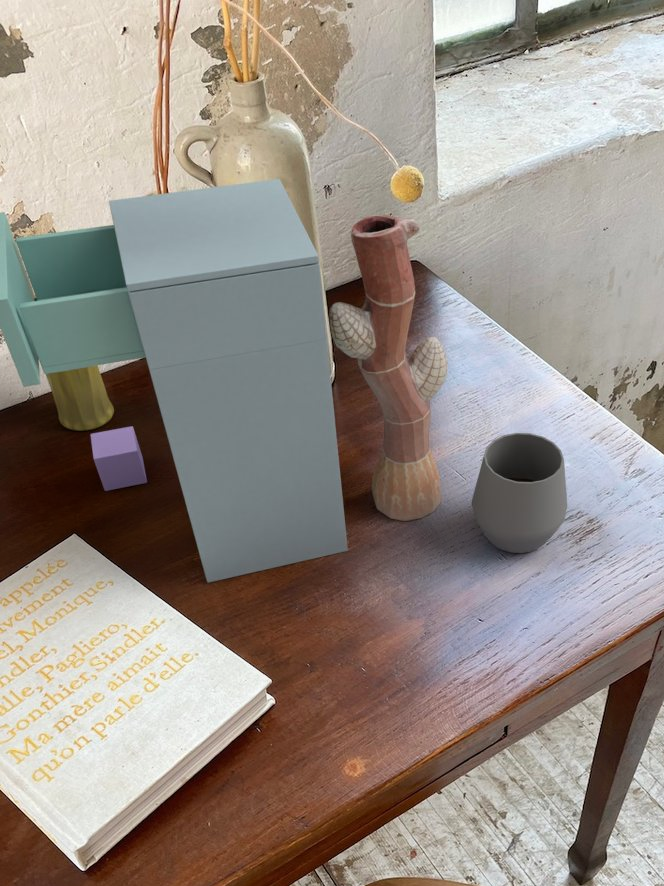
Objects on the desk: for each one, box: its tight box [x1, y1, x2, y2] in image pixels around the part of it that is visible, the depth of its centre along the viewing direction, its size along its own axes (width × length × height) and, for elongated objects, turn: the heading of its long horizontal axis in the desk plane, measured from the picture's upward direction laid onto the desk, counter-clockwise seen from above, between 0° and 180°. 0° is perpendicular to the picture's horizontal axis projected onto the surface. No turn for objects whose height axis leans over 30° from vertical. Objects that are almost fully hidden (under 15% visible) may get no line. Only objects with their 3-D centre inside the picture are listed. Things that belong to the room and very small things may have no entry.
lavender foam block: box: [90, 425, 148, 492], centre depth 96 cm, size 4×4×4 cm
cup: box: [471, 432, 568, 554], centre depth 89 cm, size 10×9×10 cm
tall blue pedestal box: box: [108, 178, 349, 584], centre depth 82 cm, size 14×14×31 cm
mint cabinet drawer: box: [0, 211, 146, 388], centre depth 70 cm, size 19×14×7 cm
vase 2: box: [328, 214, 448, 522], centre depth 85 cm, size 10×7×30 cm
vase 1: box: [34, 294, 115, 432], centre depth 99 cm, size 6×6×14 cm
